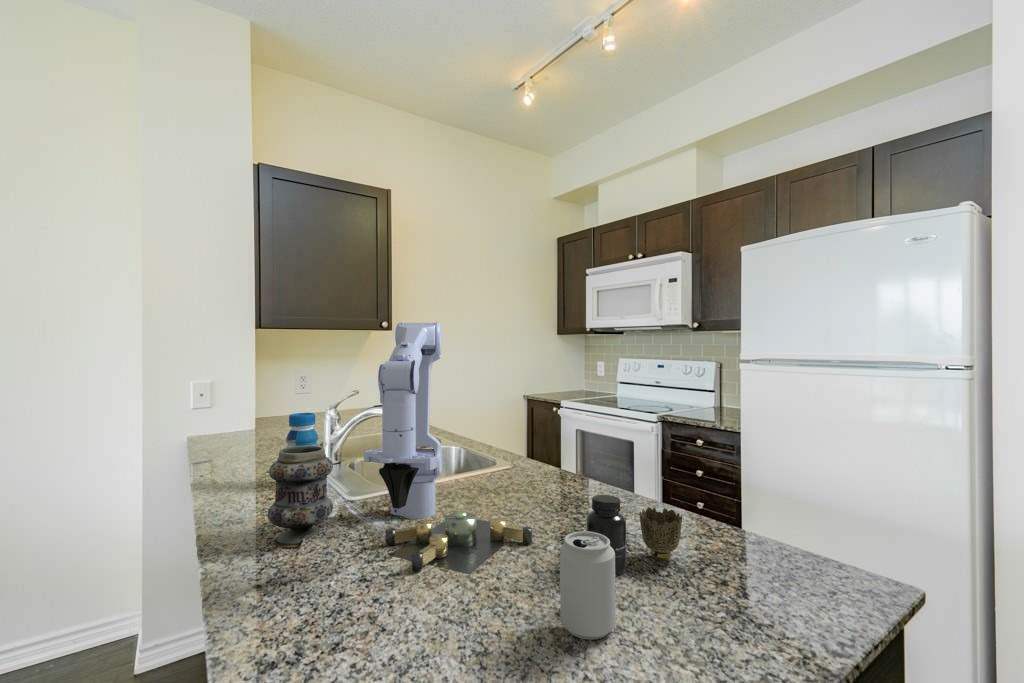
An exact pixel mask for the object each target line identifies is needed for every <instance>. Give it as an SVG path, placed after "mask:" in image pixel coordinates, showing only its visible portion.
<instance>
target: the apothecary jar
mask: <svg viewBox="0 0 1024 683" xmlns="http://www.w3.org/2000/svg"><path fill="white" fill-rule="evenodd" d="M325 451H326V450H325V447H323V446H319V445H318V446H312V445H305V446H293V447H288V448H286V447H284V448H281V449H280V450H279V451H278V457H277V460H276V461H275V462H273V463H272V464H271V465H270V467H269V471H268V473H269V477H270V478H271V479H272V480H274V481H275V495H274V496H275V497H274V502H273V503H272V504H271V505H270V506H269V508H268V511H267V519H268V521H269V522H270V523H271V524H272V525H274V526H275V527H277V528H278V527H279V528H281V529H287V530H286V531H284V532H282V533H280V534H279V535H278V534H277V536H276V537H275V538H274V539H273V544H274V545H275V546H276V547H278V548H284V549H296V548H301V547H302V543H303V540H304V539H308V538H310V537H311V538H312V537H314V536H316V535H318V534H319V533H320V531H321V528H320V527H319V526H316V525H318V524H320V523H323V521H325V520H326V519H328V518H329V516H330V515H331V514H332V512H333V508H334V504H333V502H332V500H331V499H330V498H329V497H328V494H327V493H328V490H327V489H328V488H327V487H328V486H327V485H328V482H327V480H328V476H329V475H330V474H331V473H332V471H333V467H334V463H333V462H332V460H331V459H330V458H329V457H328V456H326V453H325Z"/></svg>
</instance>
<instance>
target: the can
mask: <svg viewBox="0 0 1024 683" xmlns="http://www.w3.org/2000/svg"><path fill="white" fill-rule="evenodd" d="M563 541H564V542H563V544H562V545H561V546H560V548H559V599H560V600H559V603H560V604H559V607H560V608H559V614H560V615H559V616H560V617H559V618H560V620H559V621H560V623H561V625H562V627H564V628H565V629H567V631H568V633H570V634H571V635H572V636H574V637H577V638H579V639H582V640H583V639H584V640H591V641H593V640H598V639H599V638H600V639H602V638H604V637H606V636H607V635H608V634H609V633H611V632H612V630H614V629H615V626H616V620H617V618H616V576H615V552H614V550H613V548H612V547H611V546H610V540H609V539H608V538H607V537H606V536H604V535H602V534H599V533H595V532H589V531H584V530H582V531H574V532H570V533H569V534H567V535H565V537H564V538H563Z"/></svg>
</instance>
